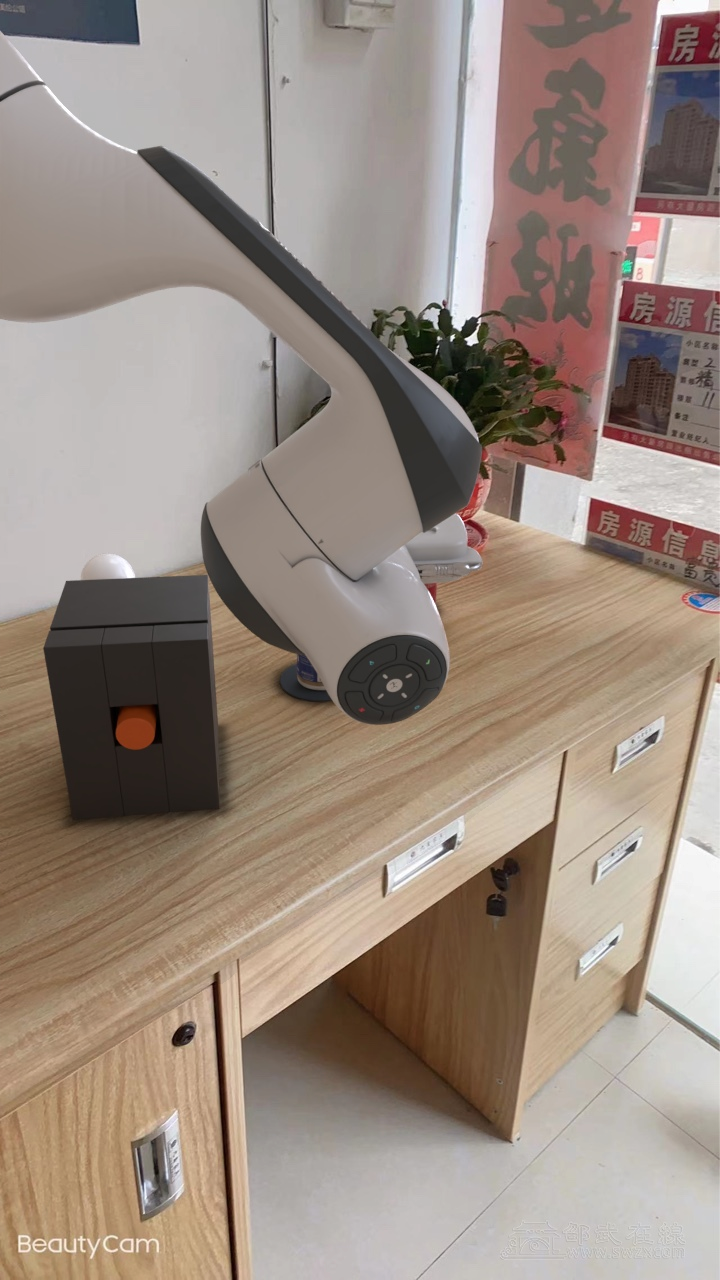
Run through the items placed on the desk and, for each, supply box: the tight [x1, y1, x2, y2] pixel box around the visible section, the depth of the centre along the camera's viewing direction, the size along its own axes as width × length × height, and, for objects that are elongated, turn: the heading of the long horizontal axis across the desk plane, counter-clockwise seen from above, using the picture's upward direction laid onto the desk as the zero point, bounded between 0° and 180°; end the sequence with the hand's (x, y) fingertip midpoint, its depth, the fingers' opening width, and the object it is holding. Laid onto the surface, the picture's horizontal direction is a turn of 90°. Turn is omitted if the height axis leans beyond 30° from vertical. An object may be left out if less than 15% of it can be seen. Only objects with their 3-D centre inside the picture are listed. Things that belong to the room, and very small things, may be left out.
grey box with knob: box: [42, 574, 221, 821], centre depth 81 cm, size 13×13×18 cm
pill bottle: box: [296, 654, 326, 690], centre depth 98 cm, size 5×5×10 cm
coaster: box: [279, 663, 333, 703], centre depth 101 cm, size 9×9×1 cm
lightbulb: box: [80, 553, 136, 580], centre depth 107 cm, size 6×6×11 cm
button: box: [116, 704, 157, 750], centre depth 75 cm, size 3×3×3 cm
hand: (333, 514), depth 79 cm, fingers open, 8 cm apart
